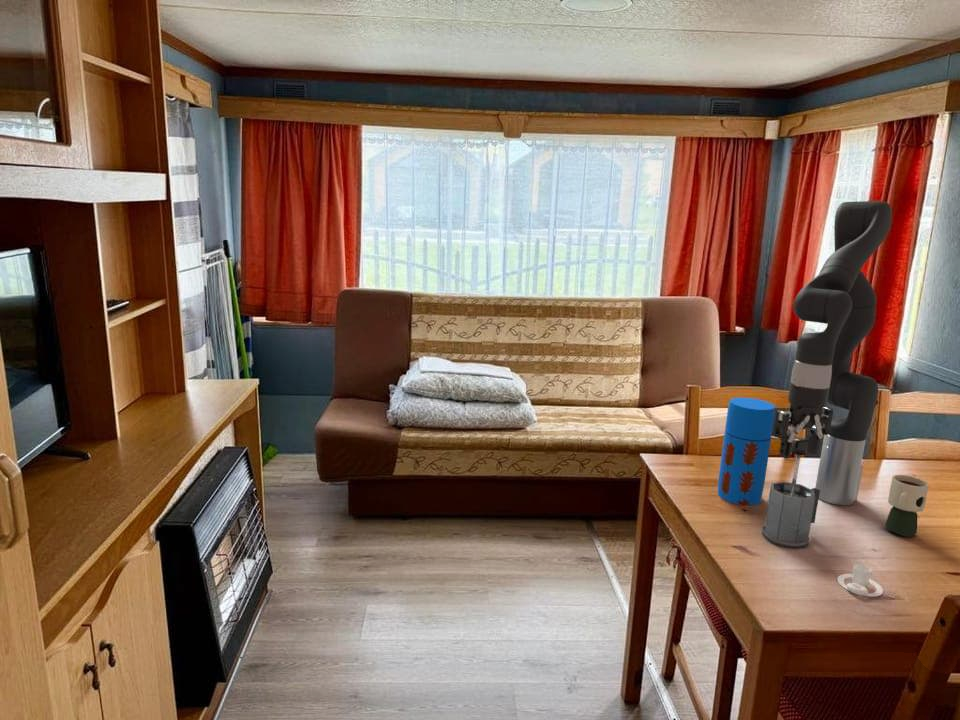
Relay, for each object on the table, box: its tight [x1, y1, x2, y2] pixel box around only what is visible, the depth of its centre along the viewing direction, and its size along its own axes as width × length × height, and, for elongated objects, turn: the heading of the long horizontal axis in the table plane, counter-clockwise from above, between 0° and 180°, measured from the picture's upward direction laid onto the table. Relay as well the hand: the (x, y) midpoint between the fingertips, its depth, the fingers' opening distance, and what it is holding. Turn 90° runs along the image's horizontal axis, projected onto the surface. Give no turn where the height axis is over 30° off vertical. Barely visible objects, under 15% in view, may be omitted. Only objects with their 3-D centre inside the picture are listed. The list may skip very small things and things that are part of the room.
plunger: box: [780, 436, 809, 498], centre depth 145 cm, size 7×7×14 cm
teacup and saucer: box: [836, 563, 884, 598], centre depth 130 cm, size 9×8×4 cm
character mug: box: [884, 474, 930, 538], centre depth 152 cm, size 11×7×13 cm, turn 136°
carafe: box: [761, 481, 820, 550], centre depth 148 cm, size 12×10×12 cm
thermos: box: [717, 397, 776, 507], centre depth 167 cm, size 11×11×25 cm
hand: (798, 455), depth 144 cm, fingers open, 7 cm apart
